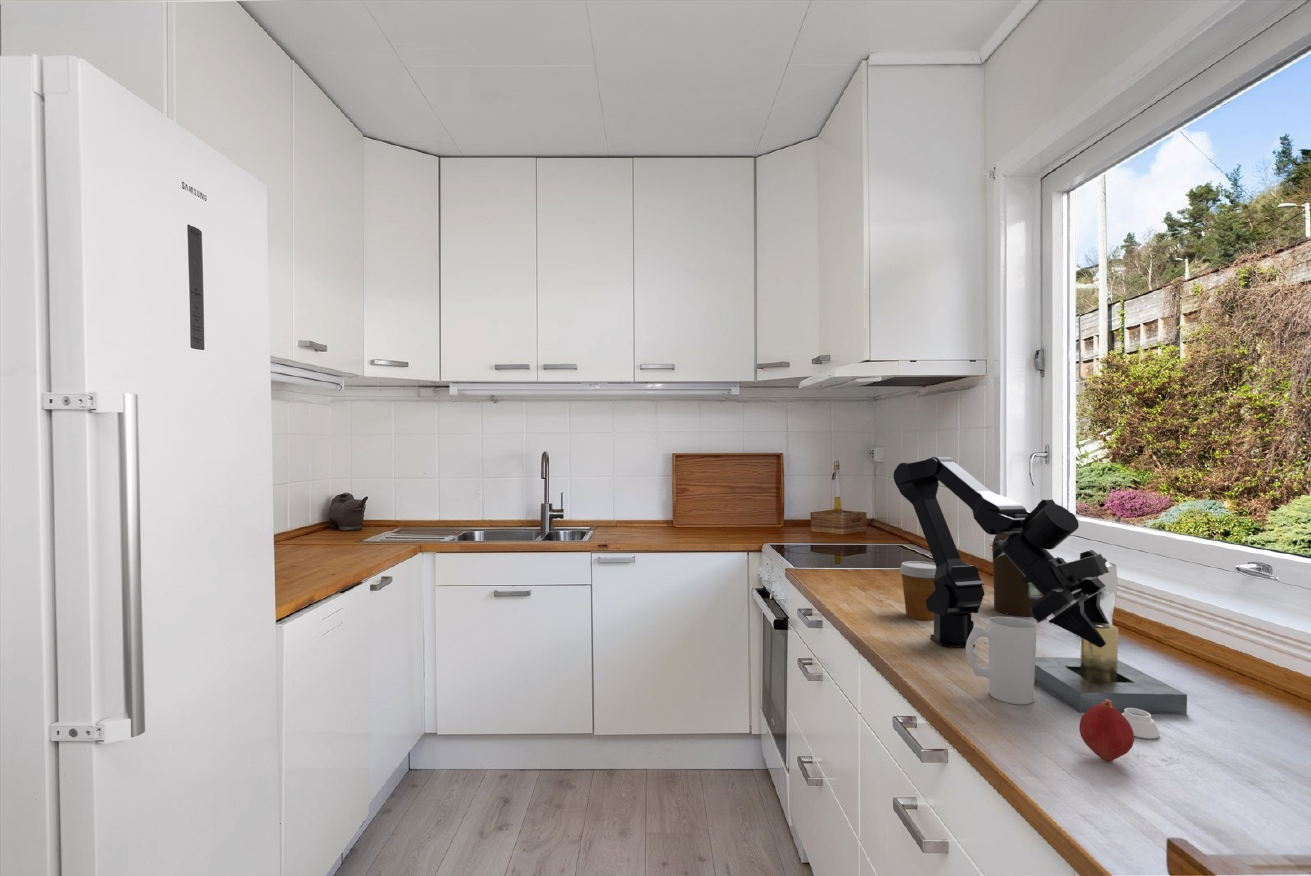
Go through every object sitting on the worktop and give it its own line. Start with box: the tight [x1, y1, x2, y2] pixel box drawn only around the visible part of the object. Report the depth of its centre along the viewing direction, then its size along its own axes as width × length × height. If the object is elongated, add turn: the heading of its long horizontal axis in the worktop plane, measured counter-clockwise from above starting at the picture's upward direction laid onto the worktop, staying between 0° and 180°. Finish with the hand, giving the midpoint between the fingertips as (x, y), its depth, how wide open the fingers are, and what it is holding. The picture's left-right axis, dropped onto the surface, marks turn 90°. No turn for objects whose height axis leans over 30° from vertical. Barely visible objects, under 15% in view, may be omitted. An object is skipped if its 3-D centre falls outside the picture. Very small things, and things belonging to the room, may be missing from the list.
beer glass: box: [1095, 561, 1118, 625], centre depth 140 cm, size 7×7×15 cm
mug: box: [965, 616, 1037, 706], centre depth 106 cm, size 10×7×12 cm, turn 71°
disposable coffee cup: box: [899, 560, 936, 621], centre depth 152 cm, size 10×10×12 cm
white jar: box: [1121, 708, 1161, 740], centre depth 93 cm, size 5×3×5 cm
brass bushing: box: [1080, 622, 1119, 682], centre depth 107 cm, size 5×5×9 cm
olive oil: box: [991, 506, 1041, 617], centre depth 157 cm, size 11×11×25 cm
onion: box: [1078, 699, 1135, 763], centre depth 85 cm, size 6×6×8 cm
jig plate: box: [1034, 656, 1188, 715], centre depth 107 cm, size 16×16×3 cm
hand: (1108, 642), depth 106 cm, fingers closed on brass bushing, 5 cm apart
